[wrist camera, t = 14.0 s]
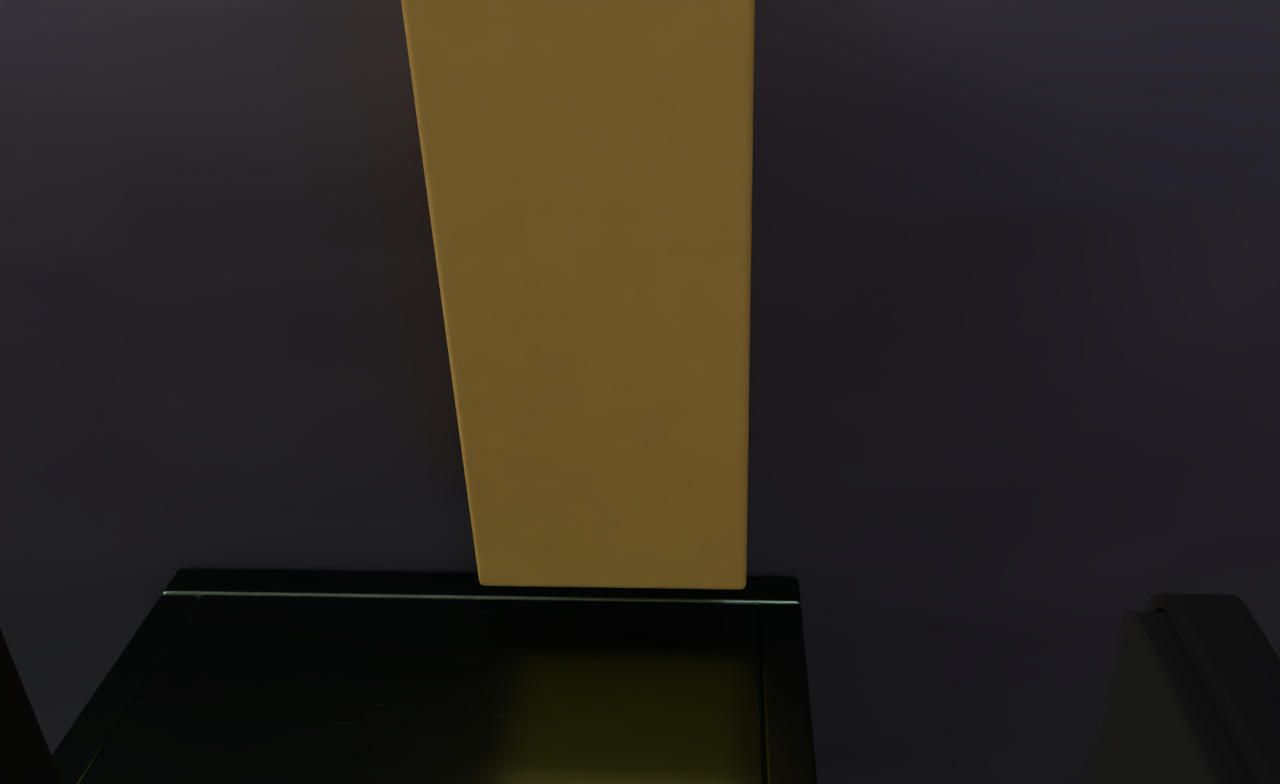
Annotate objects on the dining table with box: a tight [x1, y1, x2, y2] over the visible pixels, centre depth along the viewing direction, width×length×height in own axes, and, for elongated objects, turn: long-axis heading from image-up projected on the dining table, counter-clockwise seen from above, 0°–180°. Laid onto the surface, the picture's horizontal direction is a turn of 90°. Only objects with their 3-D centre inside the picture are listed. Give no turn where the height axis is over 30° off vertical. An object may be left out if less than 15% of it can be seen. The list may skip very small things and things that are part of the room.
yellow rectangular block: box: [401, 0, 755, 589], centre depth 17 cm, size 10×4×3 cm, turn 2°
